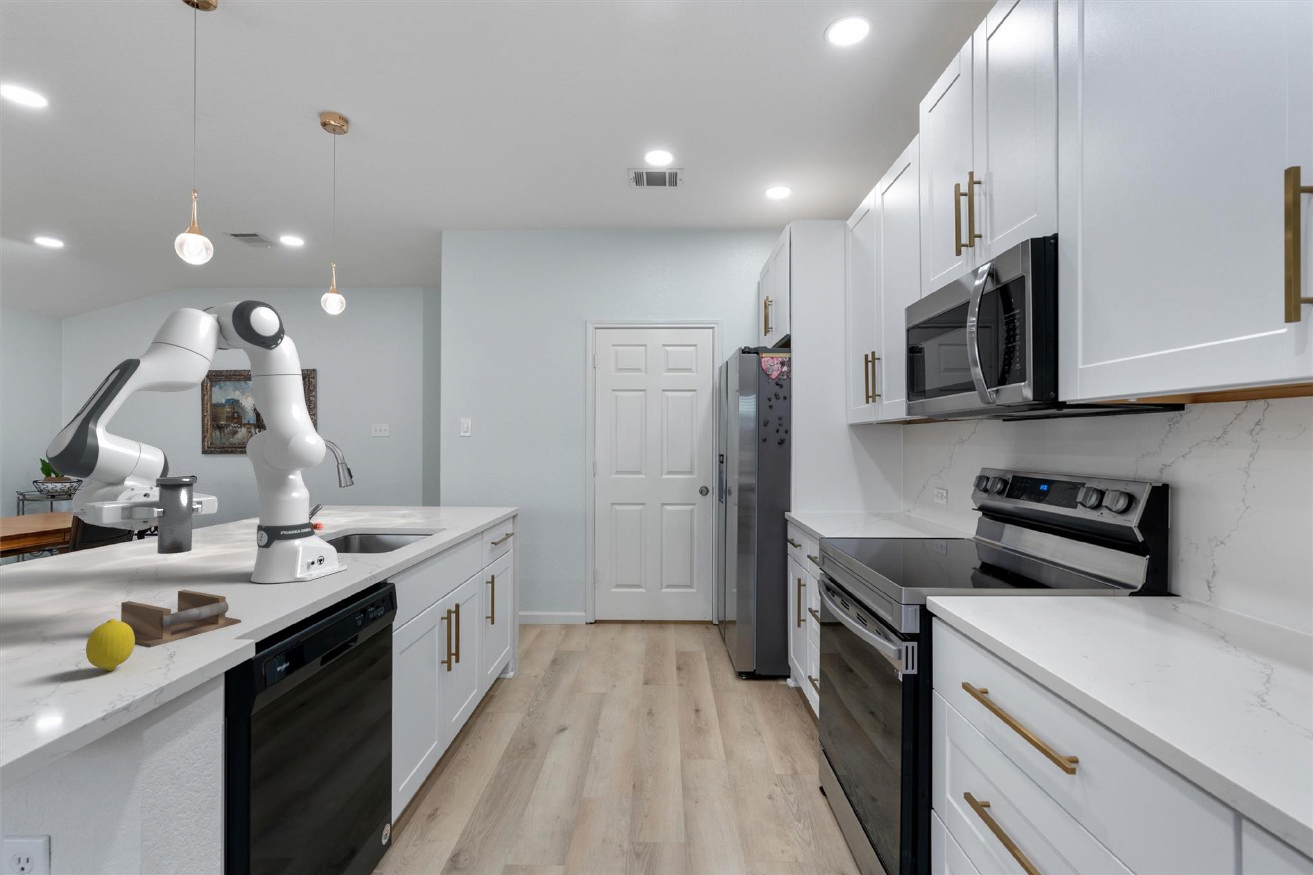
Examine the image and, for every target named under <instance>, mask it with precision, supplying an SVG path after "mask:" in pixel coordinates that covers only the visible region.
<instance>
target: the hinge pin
mask: <svg viewBox="0 0 1313 875" xmlns="http://www.w3.org/2000/svg"><path fill="white" fill-rule="evenodd" d="M197 480H198V479H197V477H196V476H195V477H194V476H189V477H188V476H184V477H183V476H180V477H179V476H176V477H175V476H174V477H173V476H172V477H168V476H167V478H156V484H159V508H163V512H162V513H163V517H159V518H158V525H157V526H158V527H157V554H160V555H173V554H182V553H187V552H191V551H192V548H193V547H192V546H193V516H192V513H193V493H194V484H197V483H198V481H197Z"/></svg>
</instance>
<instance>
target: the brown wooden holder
mask: <svg viewBox="0 0 1313 875" xmlns="http://www.w3.org/2000/svg"><path fill="white" fill-rule="evenodd" d="M226 599H227V598H226V596H223V595H218V594H211V593H206V592H201V591H200V592H199V591H196V590H195V591H193V590H189V589H181V590H178V591H177V612H172V608H166V607H161V606H158V605H157V606H156V605H152V604H147V603H141V602H138V601H137V602H136V601H130V600H128V601H124V602H122V601H121V604H120V606H121V613H120V615H121V616H120V621H121V622H124V623H126V624H128V625H129V626H130V627H131V628H132V630H133V633H134V636H135V645H136V644H137V645H141V646H146V647H149V648H151V647H156V646H160V645H162V644H166V643H170V642H173V641H177V640H182V639H185V638H188V637H192V636H195V635H201V634H203V633H207V632H210V631H214V630H218V629H222V628H226V627H229V626H232V625H233V626H234V625H237V624H240V623H242V619H240V618H239V619H238V618H233V617H229V616H226V613H228V611H229V608H230V607H229V603H228V602H227V600H226Z"/></svg>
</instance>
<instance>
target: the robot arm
mask: <svg viewBox="0 0 1313 875" xmlns="http://www.w3.org/2000/svg"><path fill="white" fill-rule="evenodd" d="M283 324H284V323H283V321H282V319H281V316H280V315H279V313H278V311H277V310H276V309H275V308H274V307H273V306H272V305H271V304H269V303H267V302H264V301H259V300H252V299H250V300H249V299H247V300H242V301H229V302H225V303H223V304H219V305H217V306H216V305H215V306H210V307H207V308H205V309H203V310H200V309H197V308H192V307H182V308H181V307H180V308H177V309H175V310H174V311H172V312H171V314H170V315H168V317H167V318H166V319H165V320H164V322H163V323H162V324H161V326H160V327H159V329H158V331H157V332H156V333H155V336H154V338H153V339H152V341H151V343H150V345H149V347H148V349H147V350H146V351H145V352H144V353H143V354H142V355H140V356H139V357H137V358H127V359H125V360H123V361H122V362H120V363H119V364H118V365H117V366H115V367H114V369H112V371H111V372H110V373H109V374H108V375H107V376H106V377H105V378H104V380H102V382H101V383H100V384H99V386H97V388H96V389H95V390H94V391H93V393H92V395H91V396H90V397H89V398H88V400H86V402H85V403H84V405H83V406H82V407H81V409H80V410H79V411H78V412H77V413H76V414H75V415H74V417H73V418H72V420H70V422H68V423H67V425H65V426H64V428H62V429H61V430H60V432H59V433H57V435H56V436H55V437H54V438H53V439H52V440H51V441H50V444H49V445H48V447H47V449H46V452H45V457H46V459H47V461H48V464H49V465H50V466H51V468H52V469H53V470H54V471H55V472H56V473H57V474H58V475H60V476H66V477H73V478H78V479H79V478H80V479H88V480H91V481H96V482H94V483H92V484H90V485H88V486H85V487H83V488H80V490H78V491H77V492H76V493H75V494H74V496H73V498H72V501H71V506H72V515H73V516H76V517H78V518H79V519H80V520H81V521H83V522H84V523H85V524H89V525H95V526H99V527H106V528H115V529H122V530H131V531H143V530H147V529H149V528H152V527H155V526H158V518H159V517H163V513H162V512H163V508H159V484H156V478H168V474H169V472H170V467H169V461H168V458H167V455H166V453H165V452H164V451H163V450H162V448H160V447H156V446H154V445H150V444H146V443H143V442H141V441H138V440H133V439H129V438H126V437H122V436H120V435H116V434H113V433H110V432H108V431H107V430H106V426H107V425H108V424H109V422H111V419H112V418H113V417H114V416H115V414H116V413H117V412H118V411H119V409H120V407H121V406H122V405H123V404H124V402H125V401H126V400H127V398H128V397H130V396H131V395H133V394H134V393H137V392H143V391H145V392H146V391H147V392H162V393H179V392H180V393H181V392H184V391H189V390H191V389H194V388H196V387H198V386H199V385H200V384H201V383H202V382H203V381H204V379H205V378H206V376H207V374H208V372H209V370H210V367H211V365H212V363H213V360H214V357H215V355H216V353H217V351H218V350H221V351H222V350H223V351H226V350H227V351H228V350H242V349H243V351H244V352H245V353H246V356H248V357H247V358H248V360H249V364H250V376H251V385H252V386H251V387H252V395H253V401H254V403H253V404H254V407H255V409H256V411H257V412H258V413H259V414H260V416H261V418H262V420H263V423H264V425H265V430H263V431H261V432H258V433H256V434H255V435H253V436H252V437H251V438H249V440H248V442H247V444H246V447H245V448H246V451H245V452H246V456H247V457H248V459H249V460H250V462H251V464H252V467H253V472H254V476H255V481H256V485H257V489H258V500H259V501H258V502H259V503H258V504H259V506H258V508H259V509H258V510H259V516H258V517H259V519H258V520H259V521H258V524H257V525H256V544H257V552H256V558H255V563H254V568H253V571H252V575H251V577H250V581H251V582H253V583H260V584H276V583H279V584H281V583H289V582H291V583H292V582H308V581H311V580H315V579H318V578H321V577H324V576H325V577H326V576H329V575H332V574H335V573H339V572H343V571H345V570H348V565H347V564H345V563H343V562H339V559H338V558H339V557H338V552H337V549H336V548H335V547H334V546H333V545H332V544H331V543H328V542H327V541H325V540H324V539H322V538H321V537H319V536H317V535H316V532H315V531H316V530H317V531H323V529H324V523H323V522H314V523H312V522H311V521H310V492H309V490H308V488H307V487H306V485H305V482H304V480H303V477H302V472H303V471H306V470H310V469H311V468H315V467H317V466H318V465H320V464H321V463H322V462H323V460H324V458H325V456H326V453H327V448H326V443H325V441H324V439H323V438H322V437H321V436H320V435H319V434H318V433H317V430H316V429H315V427H314V424H313V421H312V419H311V417H310V414H309V410H308V407H307V403H306V398H305V391H304V381H303V376H302V374H303V372H302V367H301V362H300V361H301V360H300V357H299V355H298V351H297V348H296V344H295V343H294V341H293V339H292V338H291V337H290V336H288V335H286V334H285V333H286V331H285V328H284V325H283ZM218 507H219V502H218V498H217V496H215V495H211V494H206V493H199V492H193V513H192V517H198V516H199V517H201V516H202V517H203V516H211V515H215V514H216V513H217V512H218Z"/></svg>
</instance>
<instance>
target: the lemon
mask: <svg viewBox="0 0 1313 875" xmlns="http://www.w3.org/2000/svg"><path fill="white" fill-rule="evenodd" d="M135 645H136V643H135V636H134V633H133V630H132V628H131V627H130V626H129V625H128V624H126V623H124V622H121V620H120V621H119V620H116V619H114V618H111V619H108V620H107V621H106V622H103V623H102V624H99V625H98V626H97V627H95V628H94V629H93V630H92V631H91V632H90V634H89V636H88V638H87V641H86V646H85V652H86V653H85V654H86V659H87V660H88V662H89V663H90V664H91V665H93V666H94V667H96V668H98V669H99V668H100V669H104V670H106V671H107V672H112V671H114V670H115V669H116V668H117V667H118V666H119V665H121V664H123V663H125V661H127V660H128V659H129V658H130V657H131V655H132V653H133V651H134V648H135Z"/></svg>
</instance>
